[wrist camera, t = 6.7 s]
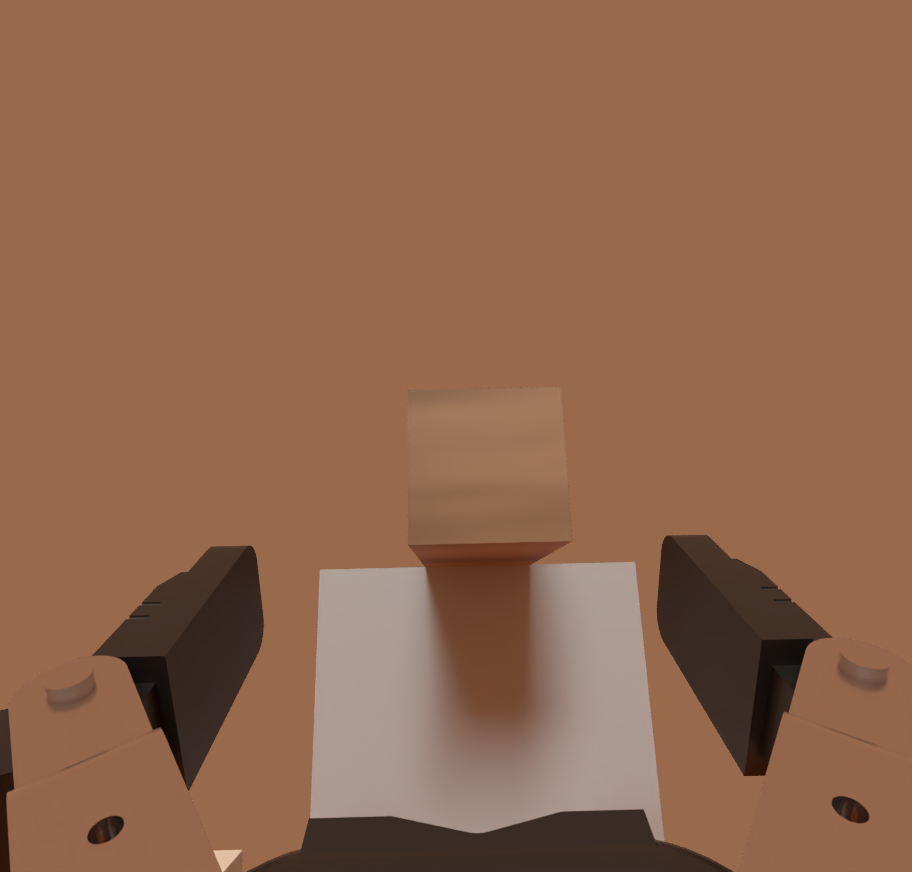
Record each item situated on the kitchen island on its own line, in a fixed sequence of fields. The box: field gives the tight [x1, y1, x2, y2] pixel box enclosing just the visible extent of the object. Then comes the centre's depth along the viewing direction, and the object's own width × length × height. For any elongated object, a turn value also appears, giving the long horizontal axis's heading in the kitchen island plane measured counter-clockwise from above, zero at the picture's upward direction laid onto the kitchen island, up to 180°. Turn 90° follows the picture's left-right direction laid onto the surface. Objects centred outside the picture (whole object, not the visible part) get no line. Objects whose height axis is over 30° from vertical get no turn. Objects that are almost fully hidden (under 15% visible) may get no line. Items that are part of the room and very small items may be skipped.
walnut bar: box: [408, 387, 573, 567], centre depth 26 cm, size 24×4×4 cm, turn 0°
